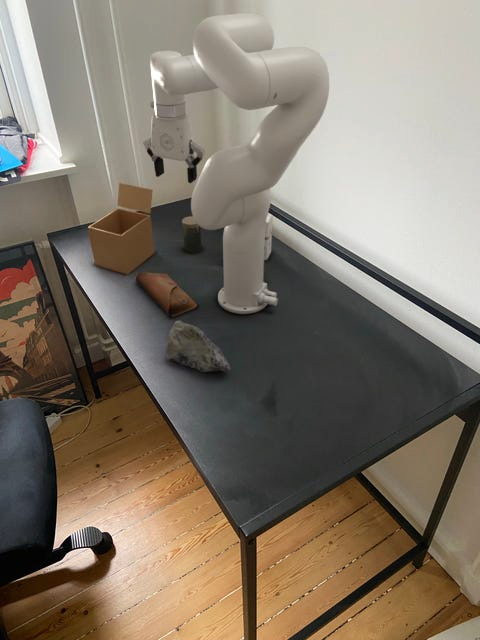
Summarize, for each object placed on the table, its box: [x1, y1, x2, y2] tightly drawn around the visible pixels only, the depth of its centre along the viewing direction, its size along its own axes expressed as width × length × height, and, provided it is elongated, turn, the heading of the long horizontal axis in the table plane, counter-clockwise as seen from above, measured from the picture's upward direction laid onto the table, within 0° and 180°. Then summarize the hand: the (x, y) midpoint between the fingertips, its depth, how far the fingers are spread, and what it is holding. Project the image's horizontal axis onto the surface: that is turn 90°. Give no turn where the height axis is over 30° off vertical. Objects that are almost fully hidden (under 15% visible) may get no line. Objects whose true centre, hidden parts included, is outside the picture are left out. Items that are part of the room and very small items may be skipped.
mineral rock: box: [165, 320, 232, 373], centre depth 105 cm, size 13×11×10 cm
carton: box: [87, 207, 156, 275], centre depth 140 cm, size 13×11×11 cm
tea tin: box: [181, 215, 202, 254], centre depth 145 cm, size 5×5×9 cm
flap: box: [117, 182, 154, 214], centre depth 140 cm, size 6×11×1 cm
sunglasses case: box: [135, 271, 198, 318], centre depth 128 cm, size 18×7×7 cm
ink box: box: [264, 213, 274, 261], centre depth 142 cm, size 9×5×12 cm, turn 73°
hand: (176, 178), depth 134 cm, fingers open, 9 cm apart
